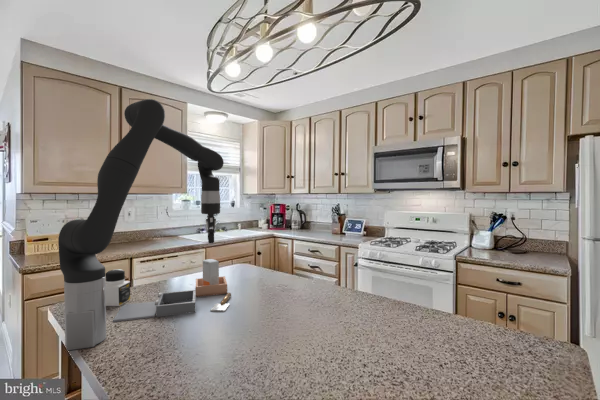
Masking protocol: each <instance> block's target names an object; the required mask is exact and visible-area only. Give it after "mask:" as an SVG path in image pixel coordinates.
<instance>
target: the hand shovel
mask: <svg viewBox="0 0 600 400" xmlns="http://www.w3.org/2000/svg"><path fill="white" fill-rule="evenodd" d="M231 297H232V294H231V292H227V294H225V295H224V297H223V299H222V300H221V301H220V303H214V305H213V306H212V308H211V309H210V310H209V311H210V312H213V313H221V312H223V313H225V312H226V311H227V310H228V309H229V307H230V304H231V303H227V302H228V300H229V299H230V298H231Z"/></svg>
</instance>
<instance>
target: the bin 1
mask: <svg viewBox="0 0 600 400" xmlns="http://www.w3.org/2000/svg"><path fill="white" fill-rule="evenodd" d="M157 298H159V299H156V300H155V301H147V302H146V301H145V302H136V303H127V304H125V303H124V304H122V305H121V307H120V308H119V311H118V312H117V314H115V316H114V318H113V319H112V323H116V322H124V321H133V320H140V319H141V320H142V319H149V318H155V317H156V318H159V317H167V316H177V315H185V314H193V313H196V301H197V299H196V298H197V297H196V289H190V290H181V291H180V290H178V291H170V292H169V291H167V292H162V291H161V292H159V293H158V294H157ZM185 301H187V302H185ZM176 302H177V303H176ZM165 303H166V304H165ZM168 303H169V304H168Z"/></svg>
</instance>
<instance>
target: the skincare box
mask: <svg viewBox="0 0 600 400" xmlns="http://www.w3.org/2000/svg"><path fill="white" fill-rule="evenodd" d="M219 263H220V261H219V260H216V259H213V258H208V259H203V260H202V278H203V286H205V285H216V284H219V277H220V267H219V266H220V264H219Z"/></svg>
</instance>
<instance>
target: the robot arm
mask: <svg viewBox="0 0 600 400" xmlns="http://www.w3.org/2000/svg"><path fill="white" fill-rule="evenodd" d="M123 115H124V119H125V121H126V123H127V125H129V126H130V129H129V131H128V132H127V133H126V134H125V135H124V136H123V138H121V140H119V141H118V143H117V144H116V145H114V147H113V148H111V150H110V151H109V153H108V154H107V156H106V157H105V158H104V160H103V163H102V164H101V167H100V168H99V171H98V174H97V181H96V183H97V184H96V185H97V197H96V202H94V203H95V204H94V206H93V208H92V210H91V212H90V214H89V215H88V217H87V218H86V219H83V218H82V219H81V218H79V219H72V220H70V221H67V222H66V223H65V224H64V225H63V226H62V228H61V229H60V231H59V233H58V234H59V235H58V241H57V242H58V243H57V244H58V245H57V246H58V260H59V268H60V271H61V273H62V274H63V279H64V281H63V283H64V284H63V288H64V289H63V291H64V294H63V295H64V297H63V298H64V299H63V300H64V343H65V344H64V346H65V348H66V351H71V350H72V351H73V350H80V349H87V348H94V347H95V346H96V345H97V344H100V343H101V342H103V341H105V340H106V338H107V306H106V284H107V283H106V267H105V265H103V263H101V261H100V260H98V258H97V254H101V253H102V252H103V251H104V250H106V248H107V247H108V246H109V244H110V243H111V241H112V239H113V236H114V233H115V229H116V226H117V223H118V220H119V217H120V213H121V212H122V209H123V207H124V205H125V202H126V199H127V197H128V195H129V192H130V190H131V188H132V186H133V184H134V182H135V180H136V178H137V176H138V174H139V171H140V169H141V166H142V164H143V161H144V159H145V157H146V156H147V154H148V151H149V149H150V146H151V144H152V143H153V141H154V139H155V140H157V141H159V142H161V143H164V144H166V145H167V146H169V147H170V148H172V149H174V150H175V151H178V152H180V154H182V155H183V156H184V157H185V156H186V158H188V159H189V160H192V161H194V162H197V169H198V172H199V176H200V180H201V195H200V196H201V197H200V206H201V207H200V209H201V210H200V213H201V214H202V215H206V218H205V224H206V225H205V227H206V231H207V243H208V244H214V243H215V233H216V223H217V218H216V217H215V215H218V214H221V193H220V179H219V177H217V176H214V175H213V172H214V171H219V170H221V169H222V168H223V167H224V163H225V162H224V158H223V157H222V156H221V154H220V153H218V152H217V151H215V150H213V149H211V148H210V147H207V146H204V145H203V144H201V143H200V142H198V140H196V139H194V138H193V137H191V136H190V135H188V134H185V133H184V132H181V131H178V130H177V129H174V128H171V127H168V126H167V125H165V124H164V122H165V119H166V113H165V109H164V106H163V105H162V103H161V102H159V101H158V100H156V99H153V98H147V99H142V100H139V101H135V102H132V103H130V104H129V105H127V106H126V108H125V109H124V114H123Z"/></svg>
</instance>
